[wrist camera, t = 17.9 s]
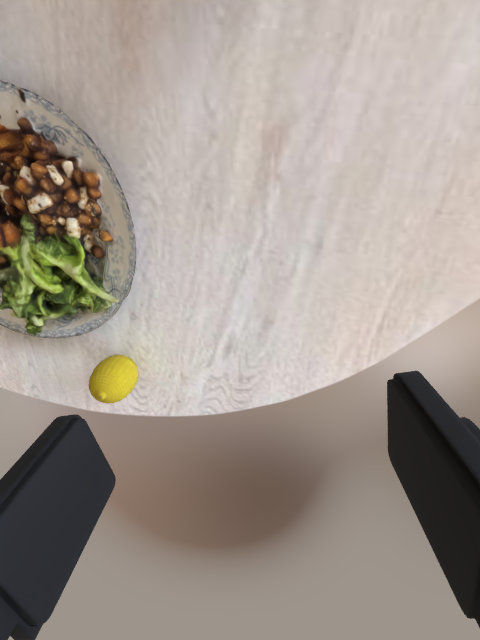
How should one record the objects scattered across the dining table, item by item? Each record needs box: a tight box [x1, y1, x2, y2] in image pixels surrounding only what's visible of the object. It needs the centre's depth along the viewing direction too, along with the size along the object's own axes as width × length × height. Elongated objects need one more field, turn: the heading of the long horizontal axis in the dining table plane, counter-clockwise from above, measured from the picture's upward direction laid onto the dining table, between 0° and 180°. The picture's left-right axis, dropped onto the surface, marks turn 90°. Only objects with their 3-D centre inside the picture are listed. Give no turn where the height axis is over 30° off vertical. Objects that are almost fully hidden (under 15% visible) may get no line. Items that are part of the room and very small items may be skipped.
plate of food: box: [0, 80, 136, 338], centre depth 33 cm, size 28×28×6 cm
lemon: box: [89, 355, 138, 403], centre depth 39 cm, size 6×6×8 cm
